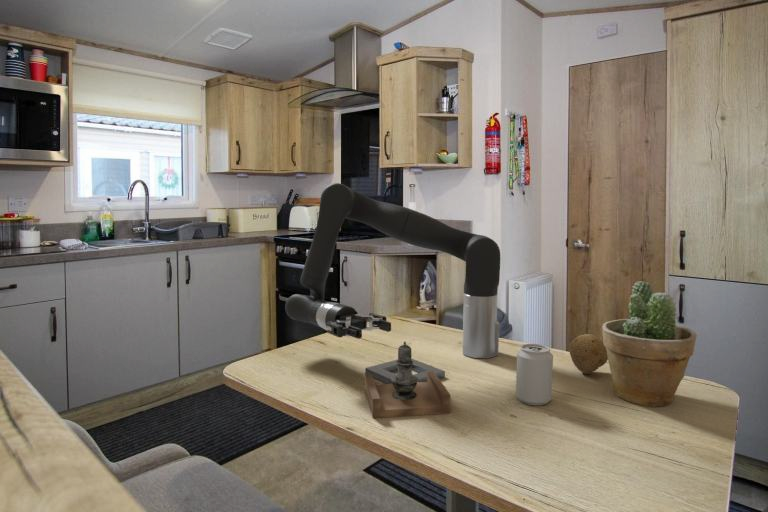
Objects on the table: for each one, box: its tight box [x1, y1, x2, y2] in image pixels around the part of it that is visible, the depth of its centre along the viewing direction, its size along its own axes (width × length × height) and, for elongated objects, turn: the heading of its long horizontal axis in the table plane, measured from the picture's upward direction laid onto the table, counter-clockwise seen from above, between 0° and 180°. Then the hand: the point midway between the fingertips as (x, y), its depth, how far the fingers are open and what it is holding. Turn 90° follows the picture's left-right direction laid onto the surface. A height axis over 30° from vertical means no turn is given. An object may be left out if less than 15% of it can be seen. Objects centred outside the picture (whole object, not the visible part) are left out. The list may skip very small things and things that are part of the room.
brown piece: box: [364, 371, 451, 419], centre depth 111 cm, size 16×14×4 cm
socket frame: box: [364, 357, 446, 384], centre depth 127 cm, size 14×14×2 cm
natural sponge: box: [568, 333, 608, 375], centre depth 129 cm, size 9×9×10 cm
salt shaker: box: [391, 340, 418, 400], centre depth 110 cm, size 6×6×12 cm
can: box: [515, 343, 554, 406], centre depth 112 cm, size 8×8×12 cm
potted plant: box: [601, 281, 698, 408], centre depth 113 cm, size 18×19×25 cm
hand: (375, 330), depth 118 cm, fingers open, 8 cm apart
